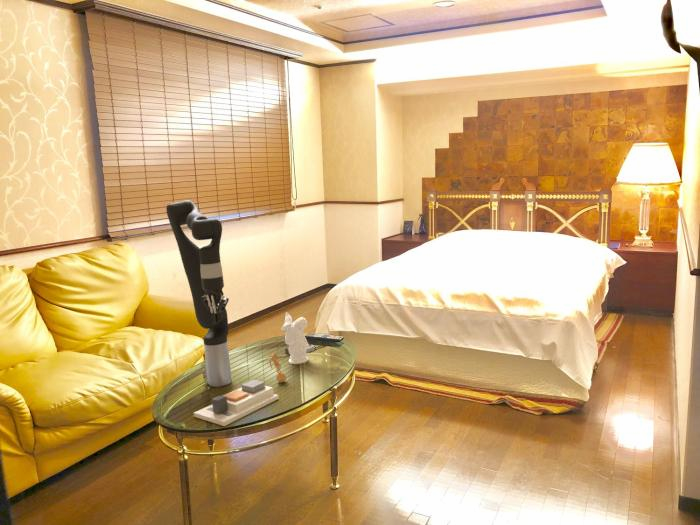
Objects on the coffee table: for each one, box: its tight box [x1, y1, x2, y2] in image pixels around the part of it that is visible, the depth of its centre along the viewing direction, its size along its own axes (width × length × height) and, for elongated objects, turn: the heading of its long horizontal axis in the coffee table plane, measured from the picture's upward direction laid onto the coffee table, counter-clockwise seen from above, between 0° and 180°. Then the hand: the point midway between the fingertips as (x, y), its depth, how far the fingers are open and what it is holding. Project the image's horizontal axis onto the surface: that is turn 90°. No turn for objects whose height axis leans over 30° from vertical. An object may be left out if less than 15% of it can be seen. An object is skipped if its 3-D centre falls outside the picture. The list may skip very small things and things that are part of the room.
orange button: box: [224, 389, 248, 402], centre depth 207 cm, size 6×6×3 cm
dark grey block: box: [211, 394, 228, 414], centre depth 200 cm, size 3×4×5 cm
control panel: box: [193, 385, 279, 427], centre depth 207 cm, size 16×26×4 cm, turn 143°
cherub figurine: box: [280, 311, 310, 365], centre depth 251 cm, size 12×12×22 cm
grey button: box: [241, 379, 266, 394], centre depth 213 cm, size 6×6×3 cm
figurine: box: [268, 352, 287, 384], centre depth 229 cm, size 8×6×12 cm
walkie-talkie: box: [284, 343, 321, 356], centre depth 270 cm, size 9×4×20 cm
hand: (217, 322), depth 206 cm, fingers closed
